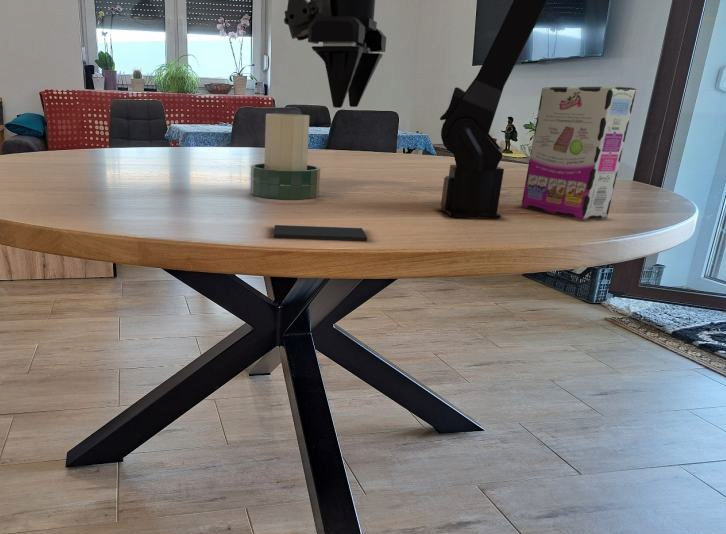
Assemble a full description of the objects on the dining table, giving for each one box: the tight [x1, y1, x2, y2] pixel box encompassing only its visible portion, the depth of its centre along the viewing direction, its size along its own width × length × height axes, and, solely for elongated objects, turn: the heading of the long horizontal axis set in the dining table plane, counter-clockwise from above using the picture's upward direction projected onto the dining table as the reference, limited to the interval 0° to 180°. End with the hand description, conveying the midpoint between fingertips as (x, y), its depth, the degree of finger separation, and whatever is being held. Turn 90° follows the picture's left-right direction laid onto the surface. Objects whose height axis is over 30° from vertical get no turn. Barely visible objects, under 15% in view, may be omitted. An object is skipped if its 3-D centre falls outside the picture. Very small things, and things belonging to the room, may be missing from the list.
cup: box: [264, 113, 310, 171], centre depth 91 cm, size 6×6×11 cm
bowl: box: [249, 162, 321, 201], centre depth 93 cm, size 10×10×4 cm
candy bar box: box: [520, 86, 637, 221], centre depth 86 cm, size 11×5×16 cm, turn 25°
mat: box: [273, 224, 368, 242], centre depth 71 cm, size 10×5×1 cm, turn 88°
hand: (345, 107), depth 86 cm, fingers open, 9 cm apart
